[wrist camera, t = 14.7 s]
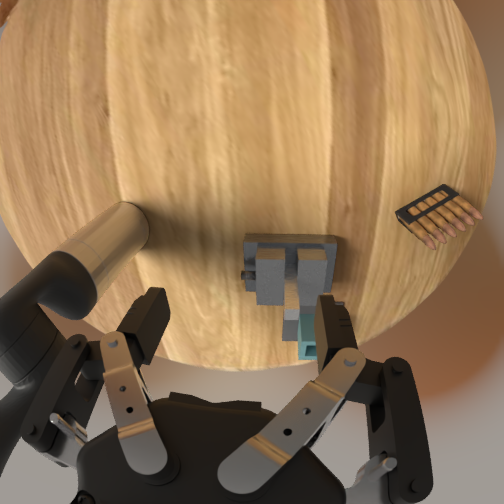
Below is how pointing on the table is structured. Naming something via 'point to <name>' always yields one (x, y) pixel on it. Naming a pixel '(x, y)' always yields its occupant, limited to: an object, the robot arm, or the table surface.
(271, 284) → the vise
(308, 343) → the sleeve
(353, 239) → the table surface
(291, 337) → the mat
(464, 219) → the ammunition clip
